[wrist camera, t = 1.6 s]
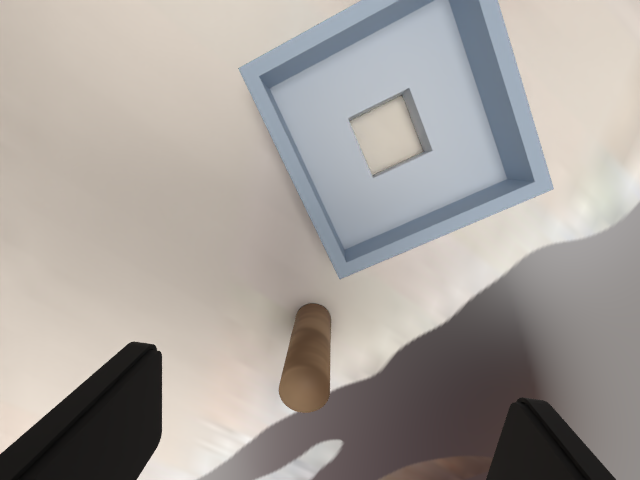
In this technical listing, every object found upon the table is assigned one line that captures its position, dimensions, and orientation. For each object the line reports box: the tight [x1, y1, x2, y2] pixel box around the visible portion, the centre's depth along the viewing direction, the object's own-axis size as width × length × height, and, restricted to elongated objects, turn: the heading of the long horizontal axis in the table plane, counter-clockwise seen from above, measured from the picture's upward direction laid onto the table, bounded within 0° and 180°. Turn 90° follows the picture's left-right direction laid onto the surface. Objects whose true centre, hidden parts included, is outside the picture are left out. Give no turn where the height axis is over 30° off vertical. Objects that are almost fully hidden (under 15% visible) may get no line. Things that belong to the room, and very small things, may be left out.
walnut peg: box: [279, 304, 331, 413], centre depth 26 cm, size 4×4×10 cm
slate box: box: [238, 0, 554, 279], centre depth 24 cm, size 16×16×6 cm
